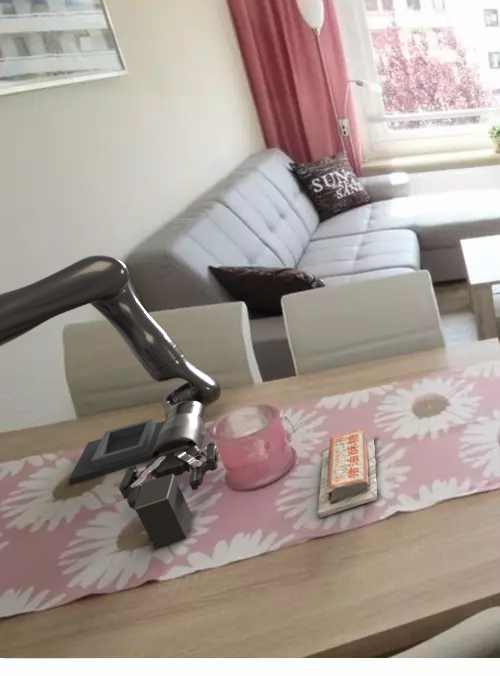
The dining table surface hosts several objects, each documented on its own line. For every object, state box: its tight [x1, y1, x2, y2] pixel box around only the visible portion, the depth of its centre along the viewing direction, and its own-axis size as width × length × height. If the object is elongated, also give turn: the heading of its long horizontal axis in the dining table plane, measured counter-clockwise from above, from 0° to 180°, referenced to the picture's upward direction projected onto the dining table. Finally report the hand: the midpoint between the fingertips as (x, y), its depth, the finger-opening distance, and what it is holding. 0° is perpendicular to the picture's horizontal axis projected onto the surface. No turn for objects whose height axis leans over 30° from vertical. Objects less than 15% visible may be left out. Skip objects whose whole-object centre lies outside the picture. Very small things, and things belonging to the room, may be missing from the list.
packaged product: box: [317, 429, 378, 518], centre depth 105 cm, size 18×5×10 cm
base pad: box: [68, 418, 165, 485], centre depth 114 cm, size 16×12×4 cm
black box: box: [134, 474, 193, 550], centre depth 93 cm, size 4×6×10 cm
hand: (164, 495), depth 94 cm, fingers open, 8 cm apart
